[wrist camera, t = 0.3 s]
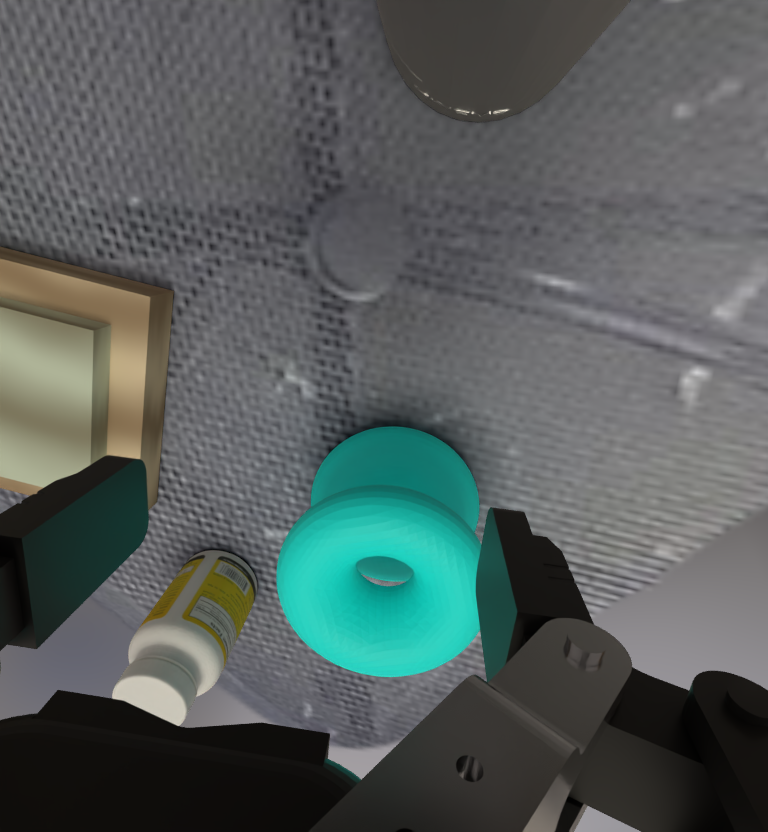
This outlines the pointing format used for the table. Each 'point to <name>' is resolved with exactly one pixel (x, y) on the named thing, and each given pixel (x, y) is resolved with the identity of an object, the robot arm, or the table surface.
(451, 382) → the table surface
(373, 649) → the donuts
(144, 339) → the stacking base
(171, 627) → the supplement bottle
